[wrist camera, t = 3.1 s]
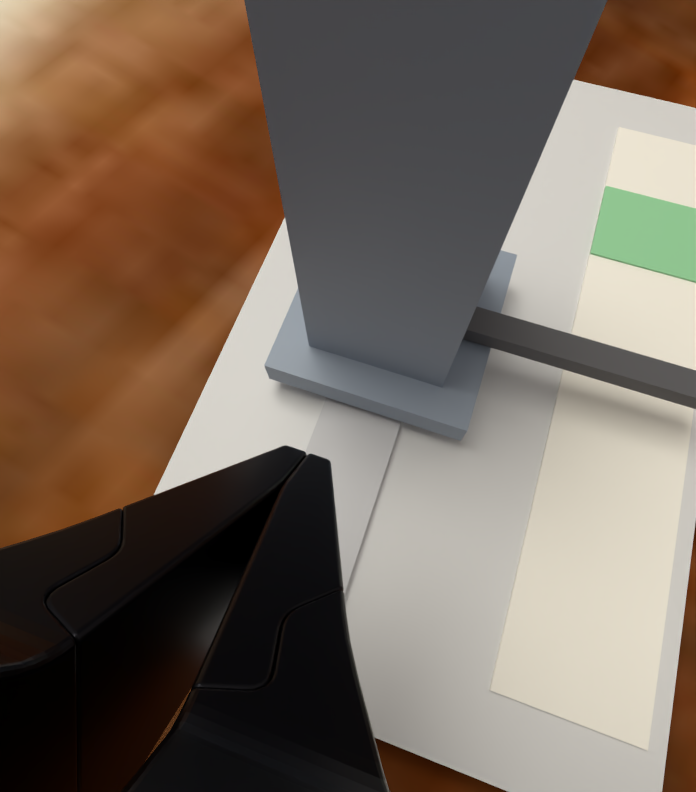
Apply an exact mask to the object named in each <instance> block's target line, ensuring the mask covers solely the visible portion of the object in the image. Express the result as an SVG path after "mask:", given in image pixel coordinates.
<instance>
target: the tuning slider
mask: <svg viewBox="0 0 696 792" xmlns="http://www.w3.org/2000/svg"><path fill="white" fill-rule="evenodd" d="M606 2H607V0H245V5H246V11H247V16H248V22H249V27H250V32H251V38H252V43H253V48H254V54H255V59H256V64H257V70H258V75H259V81H260V86H261V91H262V97H263V102H264V107H265V113H266V118H267V123H268V129H269V134H270V139H271V145H272V150H273V156H274V161H275V166H276V172H277V177H278V182H279V188H280V193H281V198H282V204H283V209H284V215H285V220H286V225H287V231H288V236H289V241H290V247H291V252H292V257H293V263H294V268H295V273H296V279H297V284H298V289H297V292H296V294H295V296H294V298H293V301H292V303H291V305H290V308H289V310H288V312H287V314H286V317H285V319H284V321H283V324H282V326H281V328H280V330H279V333H278V335H277V337H276V340H275V342H274V344H273V346H272V349H271V351H270V353H269V355H268V358H267V360H266V362H265V365H264V366H265V369H266V371H267V374H268V376H269V379H272V380H275V381H278V382H281V383H284V384H287V385H291V386H294V387H297V388H300V389H303V390H306V391H309V392H312V393H315V394H318V395H321V396H324V397H327V398H330V399H333V400H337V401H340V402H343V403H346V404H349V405H352V406H355V407H358V408H361V409H364V410H367V411H370V412H373V413H376V414H380V415H383V416H386V417H389V418H392V419H395V420H398V421H401V422H404V423H407V424H410V425H413V426H416V427H419V428H423V429H426V430H429V431H432V432H435V433H438V434H441V435H444V436H447V437H450V438H453V439H456V440H459V441H461V439H462V438H463V437H464V435H465V434H466V432H467V431H468V427H469V423H470V420H471V416H472V413H473V409H474V406H475V402H476V399H477V395H478V392H479V388H480V385H481V381H482V378H483V374H484V371H485V367H486V364H487V360H488V356H489V353H490V349H491V348H494V349H497V350H500V351H504V352H507V353H510V354H514V355H517V356H520V357H524V358H527V359H530V360H534V361H537V362H540V363H544V364H547V365H550V366H554V367H557V368H560V369H563V370H567V371H570V372H573V373H577V374H580V375H583V376H587V377H590V378H593V379H597V380H600V381H603V382H607V383H610V384H613V385H617V386H620V387H623V388H627V389H630V390H633V391H637V392H640V393H643V394H647V395H650V396H653V397H656V398H660V399H663V400H666V401H670V402H673V403H676V404H680V405H683V406H686V407H690V408H693V409H696V370H693V369H689V368H686V367H682V366H679V365H676V364H672V363H669V362H665V361H662V360H659V359H655V358H652V357H648V356H645V355H641V354H638V353H635V352H631V351H628V350H624V349H621V348H617V347H614V346H611V345H607V344H604V343H600V342H597V341H593V340H590V339H587V338H583V337H580V336H576V335H573V334H570V333H566V332H563V331H559V330H556V329H552V328H549V327H546V326H542V325H539V324H535V323H532V322H528V321H525V320H522V319H518V318H515V317H511V316H508V315H504V314H501V311H502V307H503V304H504V300H505V296H506V293H507V289H508V286H509V282H510V279H511V275H512V272H513V268H514V265H515V261H516V258H517V255H516V254H513V253H509V252H505V251H502V250H501V248H502V246H503V243H504V241H505V239H506V236H507V234H508V232H509V229H510V227H511V225H512V222H513V220H514V218H515V215H516V213H517V211H518V208H519V206H520V203H521V201H522V199H523V196H524V194H525V192H526V189H527V187H528V185H529V182H530V180H531V178H532V175H533V173H534V171H535V168H536V166H537V164H538V161H539V159H540V157H541V154H542V152H543V150H544V147H545V145H546V143H547V140H548V138H549V136H550V133H551V131H552V128H553V126H554V124H555V121H556V119H557V117H558V114H559V112H560V110H561V107H562V105H563V103H564V100H565V98H566V96H567V93H568V91H569V89H570V86H571V84H572V82H573V79H574V77H575V75H576V72H577V70H578V68H579V65H580V63H581V60H582V58H583V56H584V53H585V51H586V49H587V46H588V44H589V42H590V39H591V37H592V35H593V32H594V30H595V28H596V25H597V23H598V21H599V18H600V16H601V14H602V11H603V9H604V7H605V4H606Z"/></svg>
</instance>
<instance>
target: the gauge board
mask: <svg viewBox="0 0 696 792" xmlns="http://www.w3.org/2000/svg"><path fill="white" fill-rule="evenodd" d="M501 250H502V251H505V252H509V253H513V254H516V255H517V258H516V261H515V265H514V268H513V272H512V275H511V279H510V282H509V286H508V289H507V293H506V296H505V300H504V304H503V307H502V311H501V314H504V315H508V316H511V317H515V318H518V319H522V320H525V321H528V322H532V323H535V324H539V325H542V326H546V327H549V328H552V329H556V330H559V331H563V332H566V333H570V334H573V335H576V336H580V337H583V338H587V339H590V340H593V341H597V342H600V343H604V344H607V345H611V346H614V347H617V348H621V349H624V350H628V351H631V352H635V353H638V354H641V355H645V356H648V357H652V358H655V359H659V360H662V361H665V362H669V363H672V364H676V365H679V366H682V367H686V368H689V369H693V370H696V108H693V107H689V106H684V105H680V104H676V103H671V102H667V101H663V100H659V99H654V98H650V97H646V96H641V95H637V94H633V93H628V92H624V91H620V90H616V89H611V88H607V87H603V86H598V85H594V84H590V83H585V82H581V81H577V80H573V82H572V84H571V86H570V89H569V91H568V93H567V96H566V98H565V100H564V103H563V105H562V107H561V110H560V112H559V114H558V117H557V119H556V121H555V124H554V126H553V128H552V131H551V133H550V136H549V138H548V140H547V143H546V145H545V147H544V150H543V152H542V154H541V157H540V159H539V161H538V164H537V166H536V168H535V171H534V173H533V175H532V178H531V180H530V182H529V185H528V187H527V189H526V192H525V194H524V196H523V199H522V201H521V203H520V206H519V208H518V211H517V213H516V215H515V218H514V220H513V222H512V225H511V227H510V229H509V232H508V234H507V236H506V239H505V241H504V243H503V246H502V248H501ZM297 289H298V284H297V279H296V273H295V268H294V263H293V257H292V252H291V247H290V241H289V236H288V231H287V225H286V220H285V218H284V220H283V222H282V225H281V227H280V229H279V231H278V233H277V235H276V237H275V239H274V242H273V244H272V246H271V248H270V250H269V252H268V254H267V256H266V258H265V261H264V263H263V265H262V267H261V269H260V271H259V273H258V275H257V278H256V280H255V282H254V284H253V286H252V288H251V290H250V292H249V294H248V297H247V299H246V301H245V303H244V305H243V307H242V309H241V311H240V314H239V316H238V318H237V320H236V322H235V324H234V326H233V328H232V330H231V333H230V335H229V337H228V339H227V341H226V343H225V345H224V347H223V350H222V352H221V354H220V356H219V358H218V360H217V362H216V364H215V366H214V369H213V371H212V373H211V375H210V377H209V379H208V381H207V383H206V386H205V388H204V390H203V392H202V394H201V396H200V398H199V400H198V402H197V405H196V407H195V409H194V411H193V413H192V415H191V417H190V419H189V422H188V424H187V426H186V428H185V430H184V432H183V434H182V436H181V438H180V441H179V443H178V445H177V447H176V449H175V451H174V453H173V455H172V458H171V460H170V462H169V464H168V466H167V468H166V470H165V472H164V474H163V477H162V479H161V481H160V483H159V485H158V487H157V489H156V491H155V494H154V495H156V494H158V493H161V492H164V491H166V490H169V489H171V488H174V487H177V486H179V485H182V484H184V483H187V482H190V481H192V480H195V479H197V478H200V477H203V476H205V475H208V474H211V473H213V472H216V471H218V470H221V469H224V468H226V467H229V466H231V465H234V464H237V463H239V462H242V461H244V460H247V459H250V458H252V457H255V456H257V455H260V454H263V453H265V452H268V451H270V450H273V449H276V448H278V447H281V446H284V445H288V446H291V447H293V448H296V449H299V450H302V451H305V452H306V454H307V455H308V454H314V455H317V456H320V457H323V458H326V459H328V460H330V462H331V468H332V478H333V488H334V498H335V508H336V518H337V528H338V538H339V548H340V558H341V567H342V577H343V587H344V591H343V592H344V595H345V604H346V614H347V620H348V627H349V634H350V641H351V646H352V650H353V655H354V659H355V664H356V668H357V673H358V677H359V681H360V684H361V688H362V692H363V696H364V700H365V703H366V707H367V711H368V715H369V719H370V722H371V726H372V730H373V734H374V737H375V738H377V739H380V740H382V741H385V742H387V743H389V744H392V745H394V746H397V747H399V748H402V749H404V750H407V751H409V752H412V753H414V754H417V755H419V756H422V757H424V758H426V759H429V760H431V761H434V762H436V763H439V764H441V765H444V766H446V767H449V768H451V769H454V770H456V771H458V772H461V773H463V774H466V775H468V776H471V777H473V778H476V779H478V780H481V781H483V782H486V783H488V784H491V785H493V786H495V787H498V788H500V789H503V790H505V791H508V792H662V787H663V779H664V771H665V763H666V755H667V747H668V739H669V731H670V723H671V715H672V707H673V699H674V691H675V683H676V675H677V666H678V658H679V650H680V642H681V634H682V626H683V618H684V610H685V602H686V594H687V586H688V578H689V570H690V562H691V554H692V545H693V537H694V529H695V521H696V409H693V408H690V407H686V406H683V405H680V404H676V403H673V402H670V401H666V400H663V399H660V398H656V397H653V396H650V395H647V394H643V393H640V392H637V391H633V390H630V389H627V388H623V387H620V386H617V385H613V384H610V383H607V382H603V381H600V380H597V379H593V378H590V377H587V376H583V375H580V374H577V373H573V372H570V371H567V370H563V369H560V368H557V367H554V366H550V365H547V364H544V363H540V362H537V361H534V360H530V359H527V358H524V357H520V356H517V355H514V354H510V353H507V352H504V351H500V350H497V349H494V348H491V349H490V353H489V356H488V360H487V364H486V367H485V371H484V374H483V378H482V381H481V385H480V388H479V392H478V395H477V399H476V402H475V406H474V409H473V413H472V416H471V420H470V423H469V427H468V431H467V432H466V434H465V435H464V437H463V438H462V439H461V441H459V440H456V439H453V438H450V437H447V436H444V435H441V434H438V433H435V432H432V431H429V430H426V429H423V428H419V427H416V426H413V425H410V424H407V423H404V422H401V421H398V420H395V419H392V418H389V417H386V416H383V415H380V414H376V413H373V412H370V411H367V410H364V409H361V408H358V407H355V406H352V405H349V404H346V403H343V402H340V401H337V400H333V399H330V398H327V397H324V396H321V395H318V394H315V393H312V392H309V391H306V390H303V389H300V388H297V387H294V386H291V385H287V384H284V383H281V382H278V381H275V380H272V379H269V376H268V374H267V371H266V369H265V366H264V365H265V362H266V360H267V358H268V355H269V353H270V351H271V349H272V346H273V344H274V342H275V340H276V337H277V335H278V333H279V330H280V328H281V326H282V324H283V321H284V319H285V317H286V314H287V312H288V310H289V308H290V305H291V303H292V301H293V298H294V296H295V294H296V292H297Z"/></svg>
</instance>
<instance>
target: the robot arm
mask: <svg viewBox="0 0 696 792" xmlns="http://www.w3.org/2000/svg"><path fill="white" fill-rule="evenodd" d="M343 591H344V587H343V577H342V567H341V558H340V548H339V538H338V528H337V518H336V508H335V498H334V488H333V478H332V468H331V462H330V460H328V459H326V458H323V457H320V456H317V455H314V454H308V455H307V454H306V452H305V451H302V450H299V449H296V448H293V447H291V446H288V445H284V446H281V447H278V448H276V449H273V450H270V451H268V452H265V453H263V454H260V455H257V456H255V457H252V458H250V459H247V460H244V461H242V462H239V463H237V464H234V465H231V466H229V467H226V468H224V469H221V470H218V471H216V472H213V473H211V474H208V475H205V476H203V477H200V478H197V479H195V480H192V481H190V482H187V483H184V484H182V485H179V486H177V487H174V488H171V489H169V490H166V491H164V492H161V493H158V494H156V495H153V496H151V497H148V498H145V499H143V500H140V501H137V502H135V503H132V504H130V505H127V506H125V507H123V511H122V509H116V510H114V511H111V512H108V513H106V514H103V515H100V516H98V517H95V518H92V519H90V520H87V521H84V522H81V523H78V524H76V525H73V526H70V527H67V528H64V529H62V530H58V531H55V532H52V533H49V534H46V535H42V536H39V537H36V538H33V539H30V540H26V541H23V542H20V543H17V544H13V545H10V546H6V547H3V548H0V792H390V791H389V788H388V785H387V782H386V778H385V775H384V771H383V768H382V764H381V761H380V757H379V753H378V749H377V745H376V742H375V738H374V734H373V730H372V726H371V722H370V719H369V715H368V711H367V707H366V703H365V700H364V696H363V692H362V688H361V684H360V681H359V677H358V673H357V668H356V664H355V659H354V655H353V650H352V646H351V641H350V634H349V627H348V620H347V614H346V604H345V595H344V592H343ZM191 687H192V688H191ZM190 689H191V692H190V693H189V695H188V697H187V699H186V701H185V704H184V706H183V708H182V710H181V712H180V714H179V716H178V717H177V719H176V721H175V723H174V725H173V727H172V728H171V730H170V732H169V733H168V734H167V736H166V737H165V738H164V740H163V741H162V742H161V743H160V744H159V746H158V747H157V748H156V749H155V751H154V752H153V753H152V754H151V755H150V757H149V758H148V759H147V757H148V756H149V754H150V752H151V751H152V749H153V748H154V746H155V745H156V743H157V741H158V740H159V738H160V737H161V735H162V733H163V732H164V730H165V729H166V727H167V725H168V724H169V722H170V721H171V719H172V717H173V716H174V714H175V713H176V711H177V709H178V708H179V706H180V705H181V703H182V702H183V700H184V698H185V697H186V695H187V694H188V692H189V690H190ZM146 759H147V760H146ZM145 760H146V761H145ZM144 762H145V763H144Z"/></svg>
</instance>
